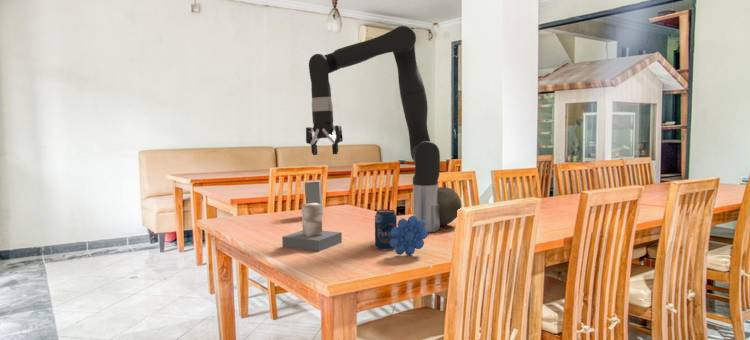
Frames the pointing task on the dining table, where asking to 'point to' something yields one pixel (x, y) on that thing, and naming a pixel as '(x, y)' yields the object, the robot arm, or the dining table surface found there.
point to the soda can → (384, 228)
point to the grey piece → (312, 219)
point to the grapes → (408, 235)
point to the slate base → (312, 241)
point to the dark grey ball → (448, 205)
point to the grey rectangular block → (313, 193)
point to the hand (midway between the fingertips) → (325, 154)
